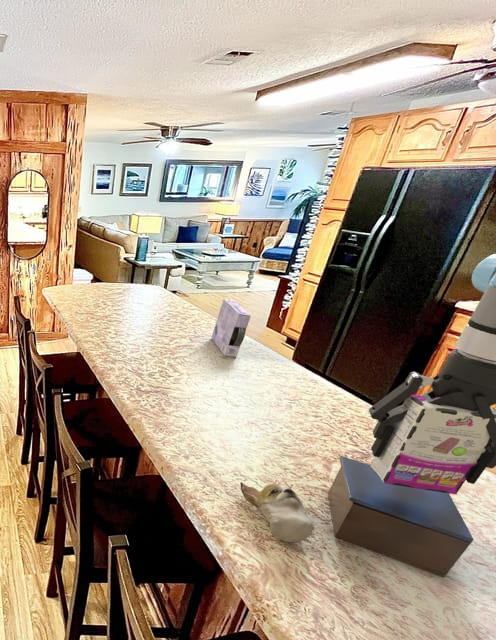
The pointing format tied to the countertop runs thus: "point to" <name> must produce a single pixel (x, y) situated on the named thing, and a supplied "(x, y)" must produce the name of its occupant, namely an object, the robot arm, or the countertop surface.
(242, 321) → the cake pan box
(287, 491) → the ceramic sculpture
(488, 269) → the robot arm
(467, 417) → the candy bar box
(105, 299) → the countertop surface
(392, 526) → the chest
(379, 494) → the chest lid
